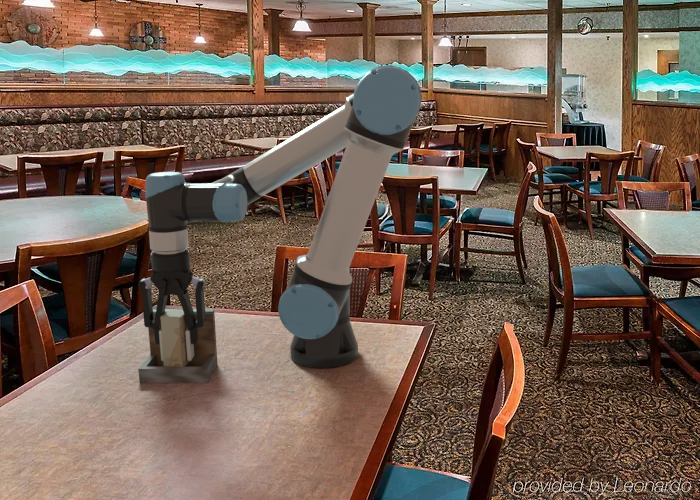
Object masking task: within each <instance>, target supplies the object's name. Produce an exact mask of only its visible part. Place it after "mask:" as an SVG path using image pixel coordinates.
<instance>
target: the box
mask: <svg viewBox="0 0 700 500" xmlns="http://www.w3.org/2000/svg"><path fill="white" fill-rule="evenodd" d="M160 318H161V333H162V348H163V361H164V367H184V366H186V365H187V364H188V363H189V362H190V361H188V360H187V346H186V332H185V331H186V330H187V328H188V324H187V321H186V318H185V315H184V312H183V310H169V311H168V312H166V313H165V314H164V315H162V316H161V317H160Z"/></svg>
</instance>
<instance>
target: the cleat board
mask: <svg viewBox="0 0 700 500" xmlns="http://www.w3.org/2000/svg"><path fill="white" fill-rule="evenodd" d="M156 309H157V308H155V309H154V308H153V318H154V320H155V314H156ZM169 310H183V309H181V308H180V309H179V308H178V309H177V308H176V309H175V308H174V309H172V308H171V309H170V308H169V309H167V308H165V313H166V312H168V311H169ZM193 311H194V314H195V317H196V320H197V313H196V308H193ZM165 313H164V314H165ZM205 315H206V322H205V324H204V325H203V326H202V327H199V328H197V333H198V341H197V343H196V344H194V357H193V359H192V360H191V361H190V362H189V363H188V364H187V365H186V366H184V367H164V361H161V351H160V344H156V343H155V334H154V329H153V328H150V327H147V329H148V340H149V350H150V352H149V353H150V354H149V355H148V357H146V359H145V360H144V361H143V363H142V364H141V365H140V366H139V368H138V370H137V372H138V379H139V381H138V383H140V384H141V383H142V384H143V383H145V384H146V383H153V384H154V383H156V384H157V383H159V384H160V383H161V384H163V383H167V384H168V383H171V384H172V383H174V384H175V383H176V384H177V383H180V384H181V383H183V384H185V383H187V384H189V383H193V384H194V383H195V384H197V383H200V384H201V383H205V384H206V383H207V384H208V383H209V380H210V379H211V377H212V375H213V373H214V372H215V370H216V368H217V366H218V352H217V351H218V350H217V333H216V319H215V317H216V316H215V315H216V314H215V309H214V308H213V309H212V308H207V309H206V308H205Z"/></svg>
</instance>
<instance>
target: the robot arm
mask: <svg viewBox="0 0 700 500" xmlns="http://www.w3.org/2000/svg"><path fill="white" fill-rule="evenodd" d="M421 105H422V90H421V87H420V84H419V82H418V81H417V80H416V78H415V77H414V76H413V75H412V74H411V73H410V71H408V70H406V69H403V68H401V66H394V65H392V64H391V65H389V64H387V65H380V66H377V67H374V68H372V69H370V70H368V71H367V72H366V73H365V74H364V75H363V76H362V77H361V79H360V80H359V81H358V82H357V84H356V85H355V88H354V91H353V93H352V94H350V95H349V96H347V97H346V99H345V103H344V104H343V105H342V106H340V107H339V108H337V109H335V110H334V111H332V112H331V113H329V114H327V115H326V116H324V117H322V118H321V119H319V120H317V121H316V122H314V123H312V124H311V125H309V126H307V127H305V128H304V129H302V130H301V131H299V132H297V133H296V134H294V135H292V136H291V137H289V138H287V139H286V140H284V141H283V142H280V143H279V144H277V145H275V146H274V147H272V148H271V149H269V150H267V151H266V152H264V153H262V154H261V155H259V156H258V157H256V158H254V159H253V160H252V161H249V162H248V163H246V164H245V165H243V166H241V167H239V168H238V169H236V170H235V171H233V172H231V173H229V174H227V175H226V176H224V177H221V179H217V180H215V181H213V182H210V183H209V182H202V183H199V182H198V183H191V182H186V180H185V176H184V174H183V173H182V172H179V171H176V172H175V171H162V172H161V171H159V172H152V173H150V174H148V175H147V176H146V178H145V197H144V198H145V201H146V210H147V223H148V236H149V249H150V250H151V253H150V263H151V270H152V272H151V275H150V277H147V278H145V277H143V278H142V279H141V280H140V281H139V282H137V286H138V287H139V290H140V292H141V301H142V302H141V303H142V314H143V325H144V327H145V328H148V327H150V328H153V329H154V334H155V343H156V344H160V351H161V361H163V348H162V333H161V318H160V317H161V316H162V315H164V313H165V309H166V307H167V301H168V297H169V296H171V295H173V296H177V299H178V301H179V303H180V305H181V308H182V309H183V312H184V315H185V318H186V321H187V324H188V328H187V330H186V331H185V332H186V346H187V360H188V361H191V360H192V359H193V357H194V344H196V343H197V341H198V333H197V328H199V327H202V326H203V325H204V324H205V322H206V315H205V309H206V303H205V301H206V300H205V286H206V283H207V279H206V278H205V277H201V278H200V277H196V276H194V274H193V272H192V270H191V259H190V250H189V249H188V247H189V231H188V222H210V223H211V222H212V223H214V222H215V223H216V222H217V223H219V222H220V223H225V224H226V223H229V222H230V223H231V222H232V223H233V222H234V223H235V222H240V221H242V220H244V219H245V216H246V213H247V212H248V206H249V205H250V204H252V203H253V202H255V201H257V200H258V199H261V198H262V197H263V196H265V195H267V194H268V193H270V192H272V191H274V190H275V189H277V188H279V187H281V186H282V185H284V184H286V183H288V182H289V181H291V180H292V179H294V178H296V177H298V176H299V175H301V174H303V173H304V172H306V171H308V170H309V169H311V168H313V167H315V166H317V165H318V164H320V163H322V162H323V161H325V160H327V159H328V158H330V157H332V156H333V155H335V154H337V153H338V152H340V151H342V150H343V149H345V150H344V152H343V155H342V158H341V161H340V164H339V167H338V169H337V172H336V175H335V177H334V180H333V182H332V185H331V188H330V191H329V194H328V197H327V199H326V202H325V204H324V208H323V210H322V213H321V216H320V218H319V221H318V224H317V227H316V229H315V231H314V232H315V233H314V235H313V238H312V240H311V243H310V246H309V249H308V251H307V253H306V254H303V255H298V256H297V258H296V260H295V264H294V268H293V270H292V274H291V275H290V277H289V278H290V279H289V281H288V283H287V286H286V289H285V290H284V291H283V293H282V294H281V296H280V298H279V302H278V307H277V309H278V311H277V312H278V317H279V320H280V321H281V324H282V325H283V327H284V328H285V329H286V330H287V331H288V332H289V333H290V334H292V335H293V337H292V341H291V343H290V348H289V349H290V358H291V360H292V361H293V362H294V363H296V364H298V365H301V366H302V367H303V366H304V367H308V368H309V367H310V368H314V369H315V368H318V369H319V368H320V369H322V368H323V369H326V368H327V369H329V368H337V367H341V366H345V365H348V364H351V363H352V362H354V361H355V360H356V359H357V358H358V356H359V345H358V341H357V338H356V336H355V331H354V330H353V326H352V324H351V307H350V305H351V299H350V298H351V296H350V295H351V294H350V292H351V291H350V287H351V286H352V283H353V277H352V274H351V273H350V272H351V268H350V266H351V264H352V260H353V259H354V256H355V253H356V251H357V249H358V246H359V243H360V240H361V237H362V235H363V232H364V230H365V227H366V225H367V222H368V220H369V217H370V214H371V211H372V209H373V206H374V205H375V201H376V198H377V196H378V193H379V191H380V188H381V186H382V183H383V180H384V177H385V176H386V175H385V174H386V173H387V170H388V167H389V164H390V162H391V159H392V157H393V156H394V155H395V154H397V153H399V152H402V151H404V148H405V147H406V146H405V145H406V143H407V140H408V139H409V138H408V137H409V136H410V132H411V130H412V127H413V125H414V122H415V120H416V118H417V116H418V114H419V112H420V109H421ZM191 283H192V286H193V289H195V291H194V296H195V297H194V298H195V309H196V313H197V320H196V317H195V314H194V311H193V309H194V308H193V305H192V302H191V300H190V297H189V290H188V287H190V284H191ZM152 284H153V285H154V287H155V288H156V289H157V290H158V295H157V303H156V308H155V309H156V314H155V320H154V318H153V309H154V308H153V294H152V287H153V285H152Z"/></svg>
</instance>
